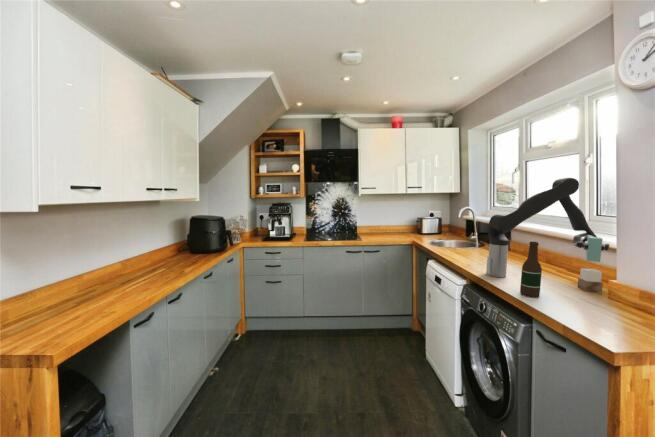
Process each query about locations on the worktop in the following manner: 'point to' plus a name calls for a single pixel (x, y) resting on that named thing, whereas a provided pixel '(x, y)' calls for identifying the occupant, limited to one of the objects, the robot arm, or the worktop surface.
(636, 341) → the worktop surface
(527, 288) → the beer bottle
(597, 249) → the teal block
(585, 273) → the cream block
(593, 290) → the walnut block
